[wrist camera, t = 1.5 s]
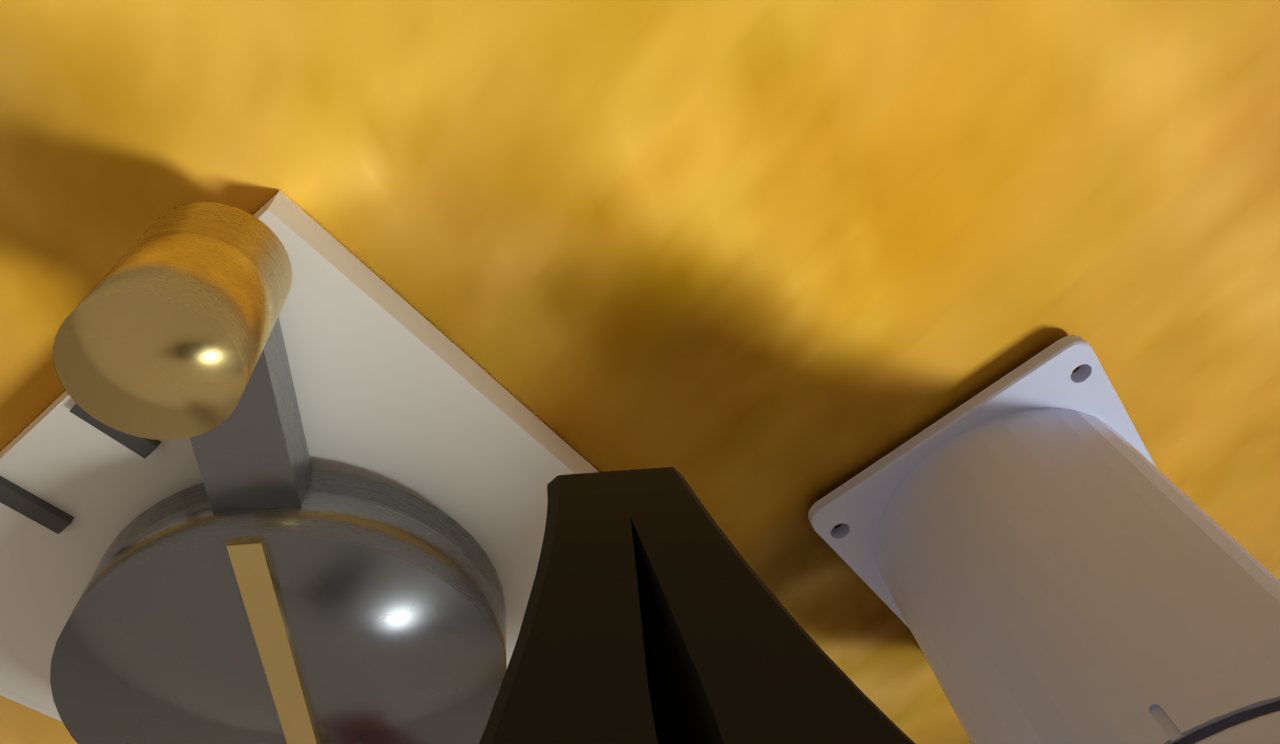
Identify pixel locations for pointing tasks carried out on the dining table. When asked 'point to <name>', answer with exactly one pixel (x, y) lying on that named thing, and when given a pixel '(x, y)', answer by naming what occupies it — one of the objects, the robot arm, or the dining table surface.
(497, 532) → the white square board
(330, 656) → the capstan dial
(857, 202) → the dining table surface
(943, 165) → the dining table surface
